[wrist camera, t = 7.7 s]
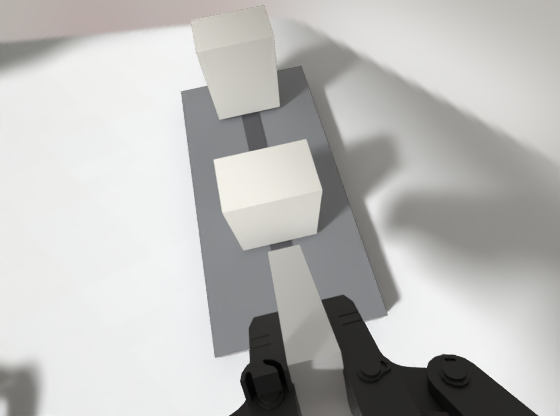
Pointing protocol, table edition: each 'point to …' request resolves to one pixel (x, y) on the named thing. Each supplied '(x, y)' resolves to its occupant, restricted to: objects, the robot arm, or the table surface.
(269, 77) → the switch
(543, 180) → the table surface
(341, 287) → the switch plate
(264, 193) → the switch
